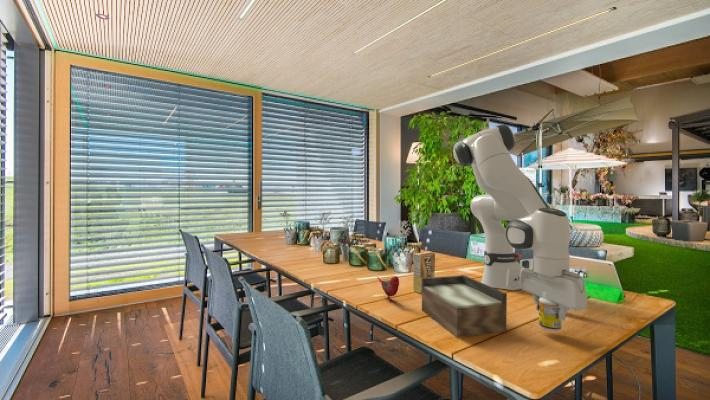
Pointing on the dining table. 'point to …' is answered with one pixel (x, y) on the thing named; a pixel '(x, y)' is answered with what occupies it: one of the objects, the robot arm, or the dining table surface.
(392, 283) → the decorative bird figurine
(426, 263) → the candy box
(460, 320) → the open wooden crate
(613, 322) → the dining table surface
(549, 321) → the supplement bottle
